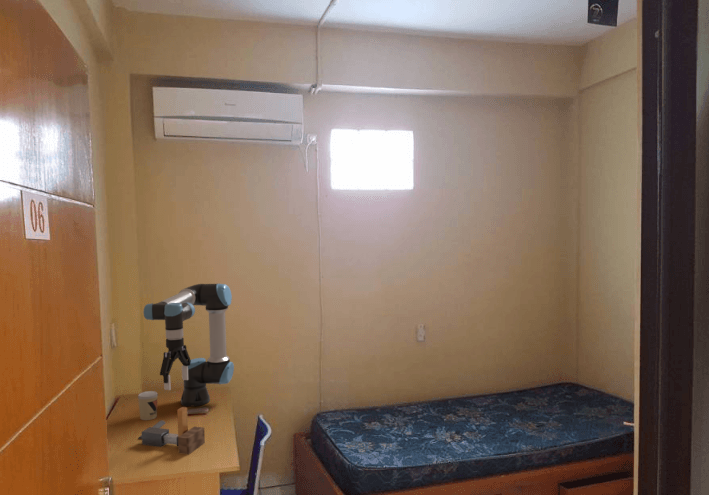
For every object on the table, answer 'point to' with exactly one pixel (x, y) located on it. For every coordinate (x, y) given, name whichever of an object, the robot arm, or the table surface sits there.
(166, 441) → the sliding bar
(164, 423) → the half round rod
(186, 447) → the walnut socket
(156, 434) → the dark grey block
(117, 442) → the table surface
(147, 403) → the coffee cup
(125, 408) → the table surface
